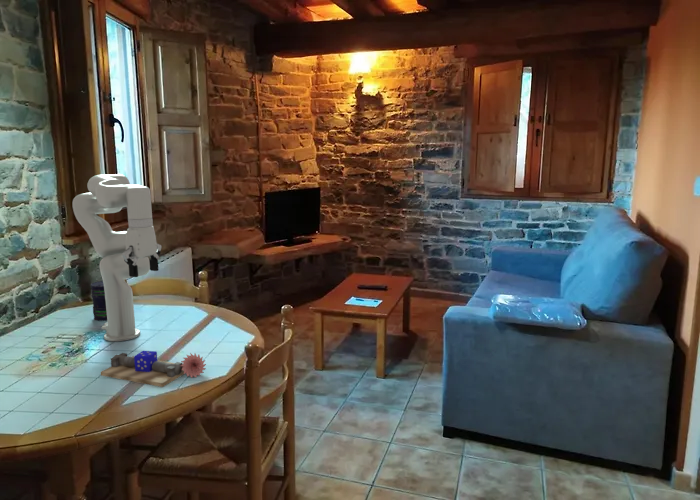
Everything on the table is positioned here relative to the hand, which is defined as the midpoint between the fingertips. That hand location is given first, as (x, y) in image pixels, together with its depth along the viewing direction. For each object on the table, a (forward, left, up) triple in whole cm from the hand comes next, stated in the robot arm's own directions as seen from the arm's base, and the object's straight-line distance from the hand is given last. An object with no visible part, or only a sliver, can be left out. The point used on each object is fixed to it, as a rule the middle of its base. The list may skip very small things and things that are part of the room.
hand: (144, 273), depth 182 cm
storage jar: (-46, +26, -28) cm, 60 cm away
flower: (+26, -10, -29) cm, 40 cm away
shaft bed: (+11, -14, -28) cm, 33 cm away
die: (+11, -14, -27) cm, 33 cm away
